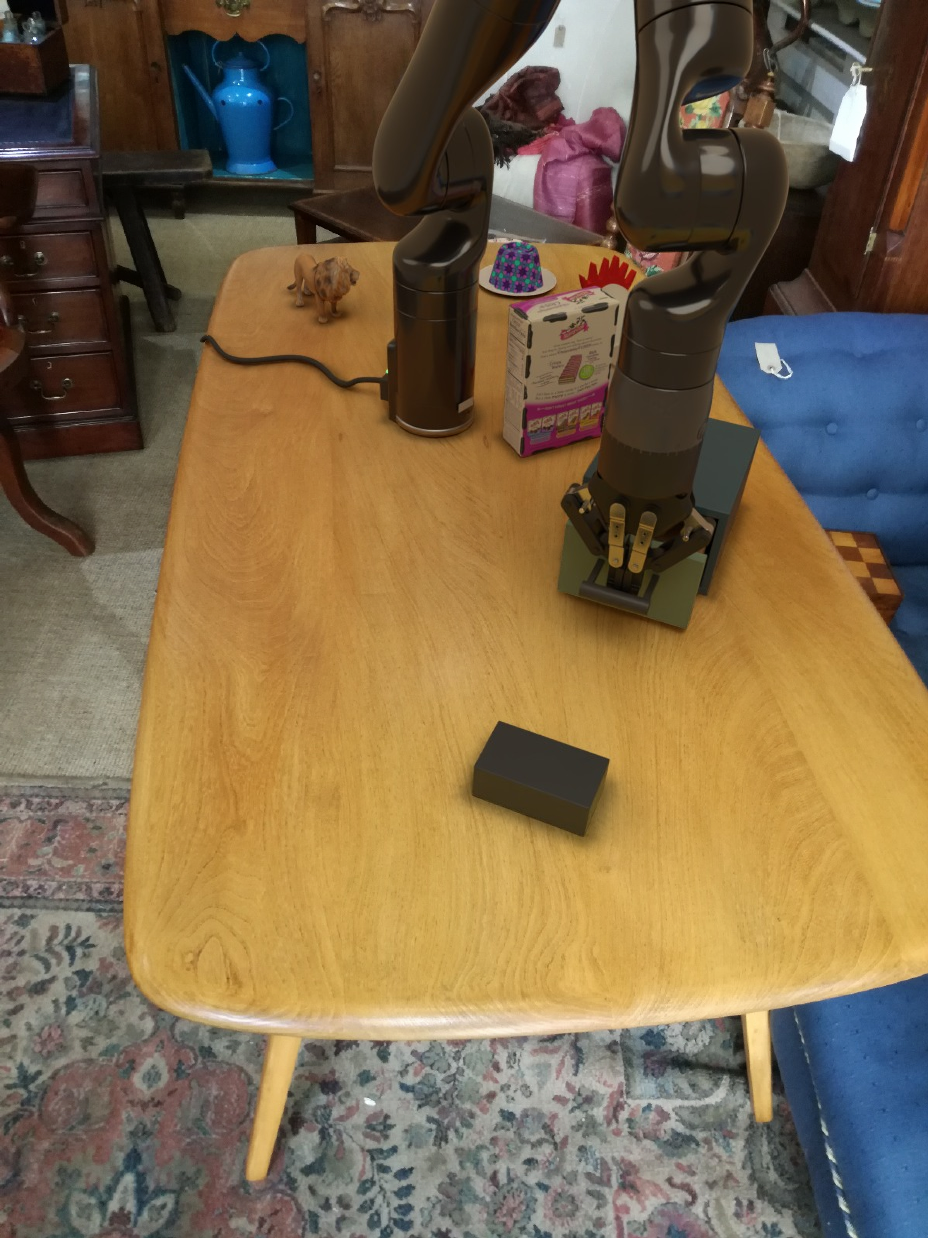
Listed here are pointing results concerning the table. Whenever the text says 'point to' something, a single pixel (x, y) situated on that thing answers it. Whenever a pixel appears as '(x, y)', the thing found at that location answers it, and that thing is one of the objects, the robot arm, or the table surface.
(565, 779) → the matte charcoal brick
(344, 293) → the lion figurine
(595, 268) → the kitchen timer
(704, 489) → the cabinet
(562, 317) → the candy bar box
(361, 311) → the table surface
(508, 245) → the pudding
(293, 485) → the table surface
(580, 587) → the drawer
